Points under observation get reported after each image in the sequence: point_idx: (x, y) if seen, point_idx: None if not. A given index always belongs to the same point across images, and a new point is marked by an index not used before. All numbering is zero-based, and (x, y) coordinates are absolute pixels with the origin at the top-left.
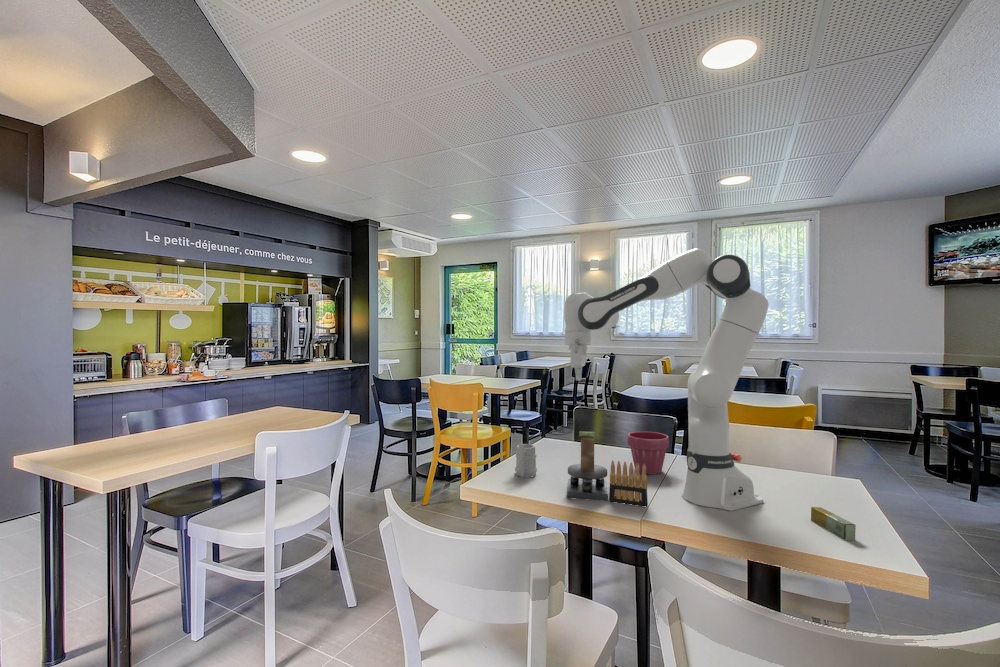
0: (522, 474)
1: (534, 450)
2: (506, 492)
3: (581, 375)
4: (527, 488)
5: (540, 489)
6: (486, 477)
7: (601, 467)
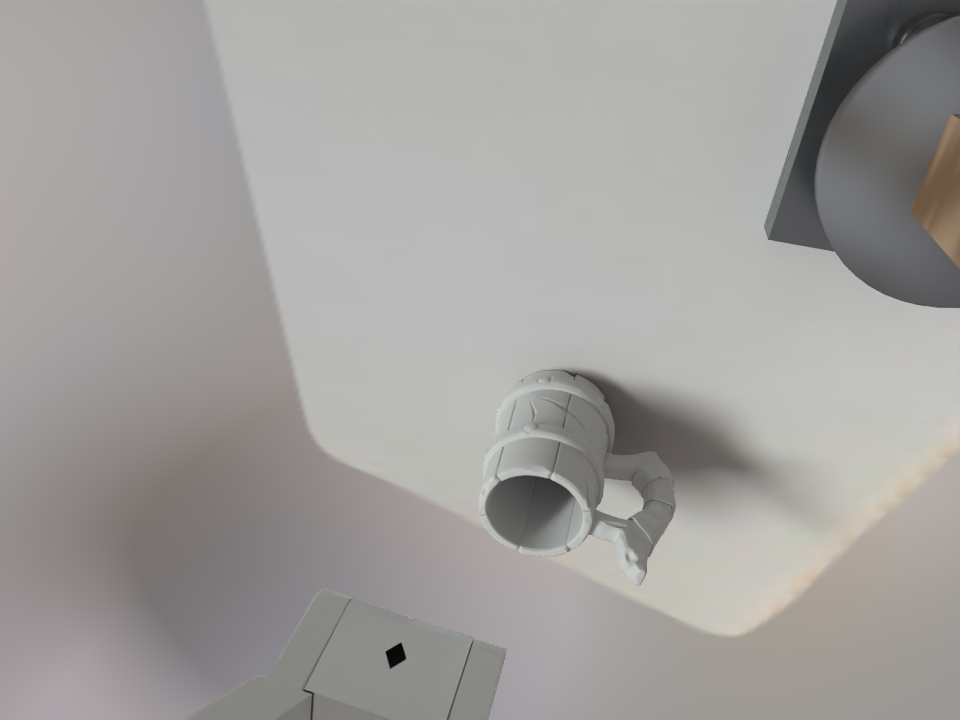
0: (660, 460)
1: (563, 462)
2: (842, 524)
3: (303, 674)
4: (794, 435)
5: (820, 379)
6: (611, 573)
7: (956, 46)
